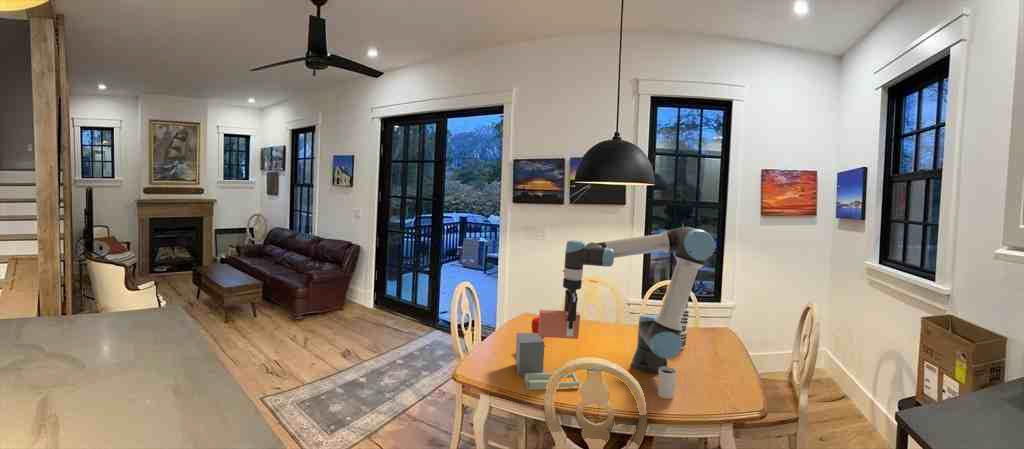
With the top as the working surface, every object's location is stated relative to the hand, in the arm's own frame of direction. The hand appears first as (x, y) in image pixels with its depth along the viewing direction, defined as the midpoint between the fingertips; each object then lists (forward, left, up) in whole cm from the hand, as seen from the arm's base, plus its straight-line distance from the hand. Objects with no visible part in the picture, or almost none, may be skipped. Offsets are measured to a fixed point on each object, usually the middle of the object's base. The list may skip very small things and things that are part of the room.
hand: (568, 333), depth 190 cm
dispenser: (+15, -5, -18) cm, 24 cm away
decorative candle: (-65, -35, -18) cm, 76 cm away
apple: (+4, -45, -18) cm, 49 cm away
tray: (+8, +9, -18) cm, 21 cm away
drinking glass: (-35, +19, -18) cm, 44 cm away
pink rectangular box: (+4, 0, -1) cm, 4 cm away
